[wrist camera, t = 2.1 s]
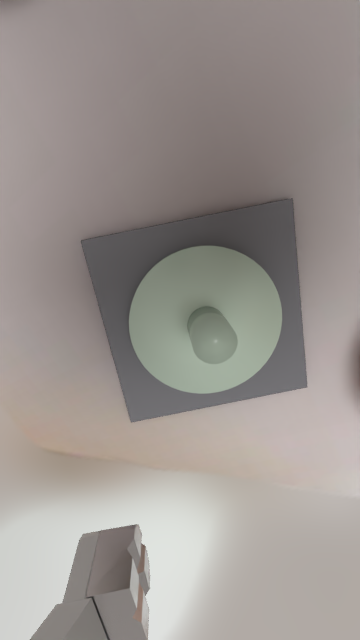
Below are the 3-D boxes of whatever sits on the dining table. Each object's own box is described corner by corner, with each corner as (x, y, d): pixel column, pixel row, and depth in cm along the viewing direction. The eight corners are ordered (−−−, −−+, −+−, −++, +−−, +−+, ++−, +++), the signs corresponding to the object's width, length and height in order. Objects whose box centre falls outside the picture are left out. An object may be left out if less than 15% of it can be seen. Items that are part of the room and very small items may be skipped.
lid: (113, 262, 24) (101, 271, 19) (268, 230, 24) (296, 231, 19) (148, 398, 27) (146, 437, 22) (283, 371, 27) (310, 403, 22)
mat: (82, 240, 24) (80, 240, 23) (289, 198, 24) (292, 198, 23) (131, 418, 28) (131, 422, 28) (304, 384, 28) (307, 387, 28)
